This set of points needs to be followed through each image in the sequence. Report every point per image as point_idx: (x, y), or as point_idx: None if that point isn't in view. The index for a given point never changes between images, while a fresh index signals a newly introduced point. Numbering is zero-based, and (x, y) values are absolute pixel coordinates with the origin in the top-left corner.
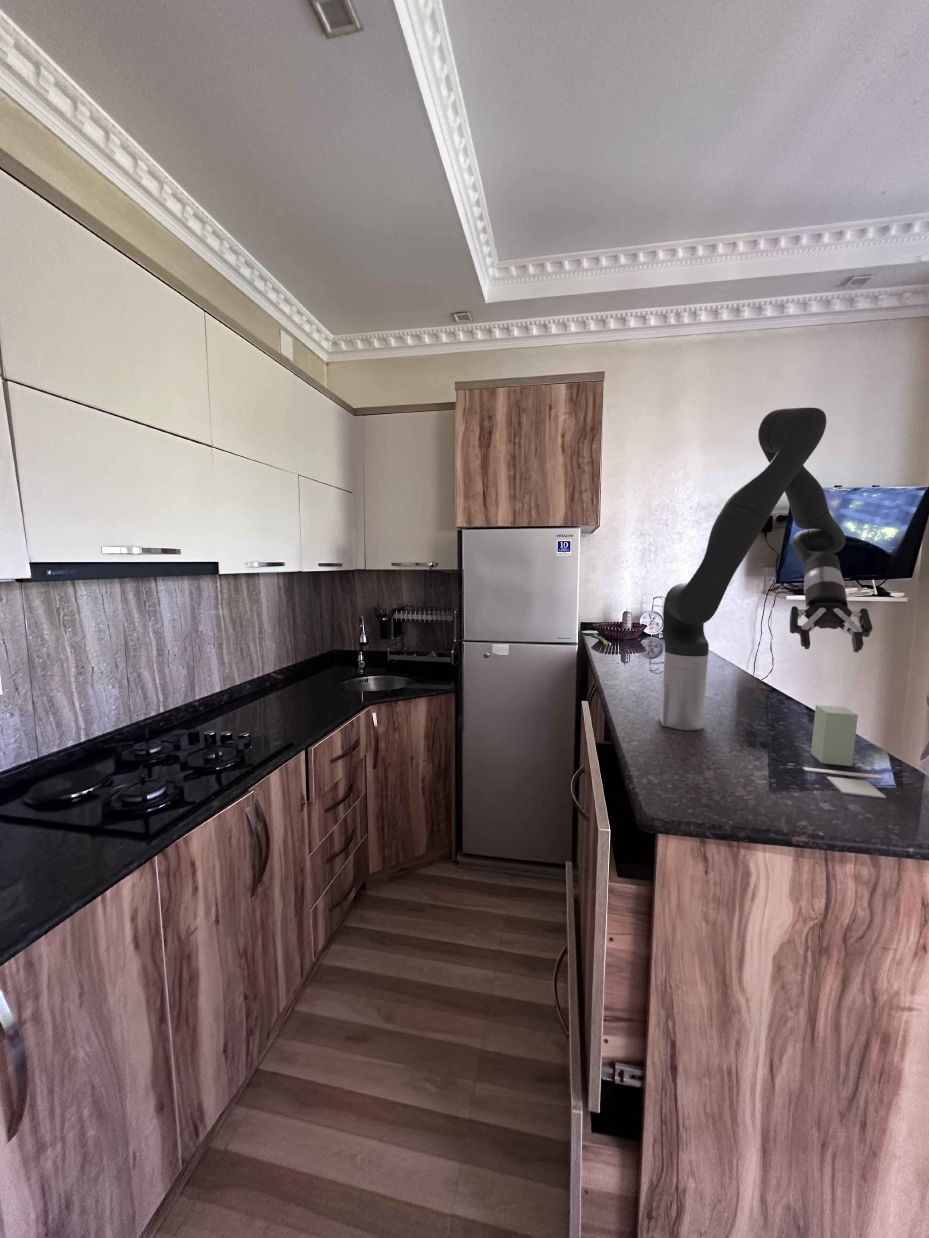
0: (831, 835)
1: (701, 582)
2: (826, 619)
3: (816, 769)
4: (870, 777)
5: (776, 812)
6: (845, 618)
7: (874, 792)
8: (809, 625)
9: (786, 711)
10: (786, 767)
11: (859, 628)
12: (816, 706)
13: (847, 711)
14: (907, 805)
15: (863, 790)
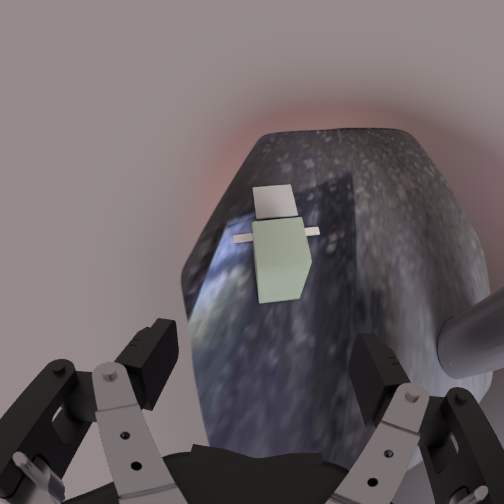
0: (311, 131)
1: None
2: (281, 480)
3: (305, 232)
4: (246, 234)
5: (344, 146)
6: (134, 441)
7: (259, 192)
8: (393, 413)
9: None
10: (336, 234)
11: (100, 378)
12: (310, 258)
13: (263, 236)
14: (237, 185)
15: (269, 192)
